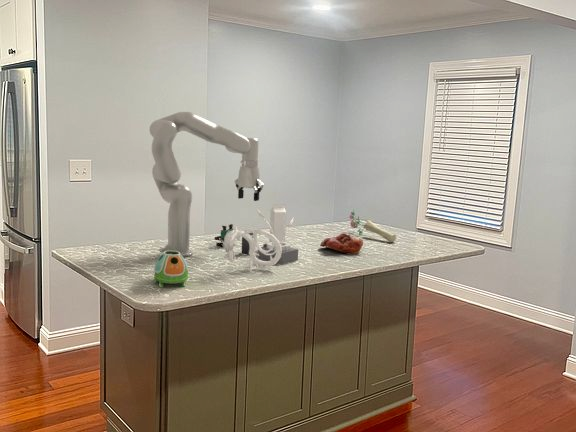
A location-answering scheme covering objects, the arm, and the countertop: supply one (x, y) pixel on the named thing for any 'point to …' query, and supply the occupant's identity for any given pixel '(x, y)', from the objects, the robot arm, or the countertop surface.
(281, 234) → the milk
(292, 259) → the low charcoal box
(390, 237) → the flower vase
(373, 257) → the countertop surface
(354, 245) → the meat
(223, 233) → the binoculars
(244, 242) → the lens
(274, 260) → the serpentine dragon sculpture
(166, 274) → the turtle holder
